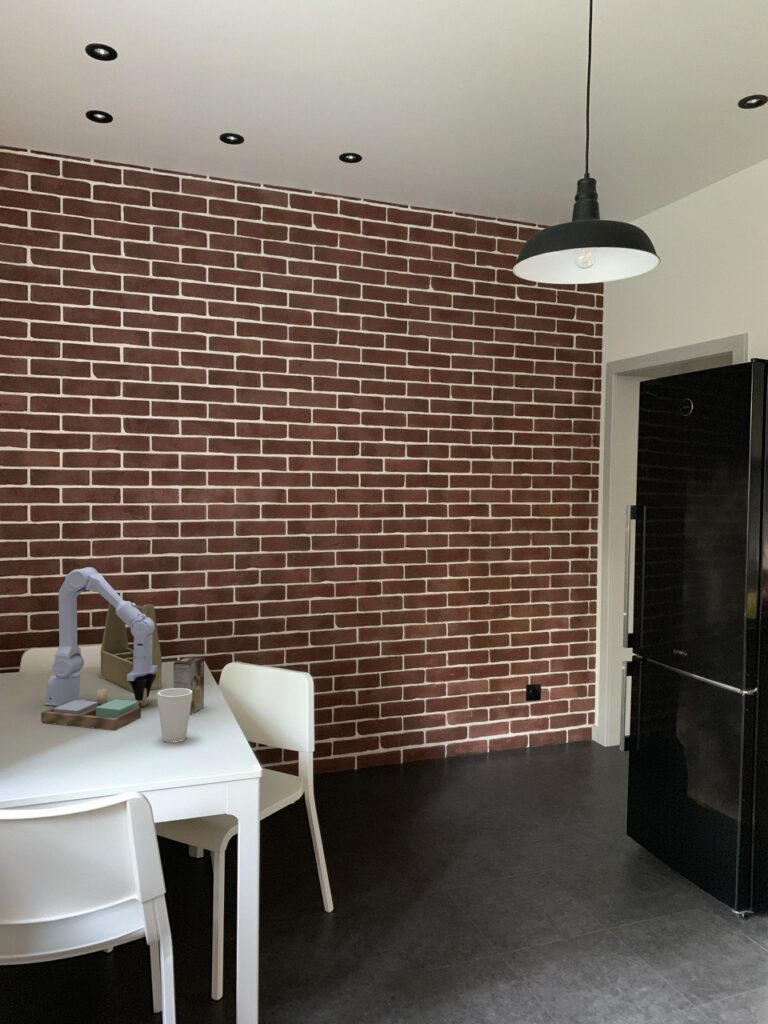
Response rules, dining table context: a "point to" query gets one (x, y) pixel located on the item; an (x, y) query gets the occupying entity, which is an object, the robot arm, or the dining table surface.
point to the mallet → (120, 706)
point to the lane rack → (90, 718)
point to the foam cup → (174, 713)
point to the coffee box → (191, 679)
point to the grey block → (83, 704)
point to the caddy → (125, 649)
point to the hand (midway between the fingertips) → (142, 698)
